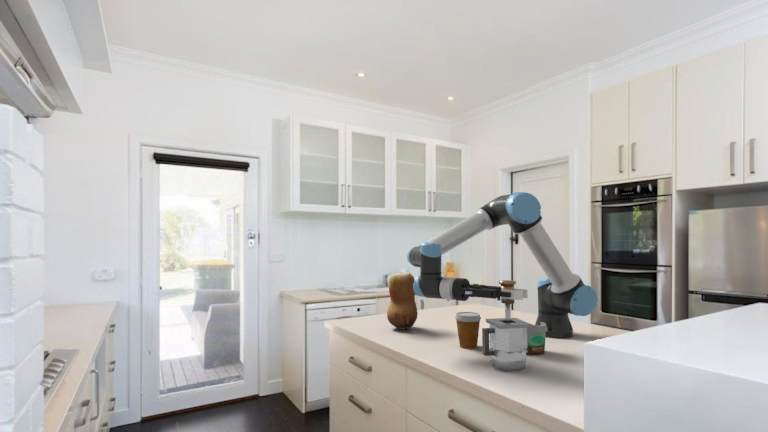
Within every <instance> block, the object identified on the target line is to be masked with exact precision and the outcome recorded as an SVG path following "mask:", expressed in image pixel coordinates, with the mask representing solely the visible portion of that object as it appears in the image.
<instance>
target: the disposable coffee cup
mask: <svg viewBox="0 0 768 432" xmlns="http://www.w3.org/2000/svg"><path fill="white" fill-rule="evenodd" d="M480 315H481V314H480V313H479V312H473V311H460V312H459V311H458V312H456V314H455V316H454V319H455V321H456V327H457V328H456V329H457V336H458V342H459V343H458V344H459V347H460V348H462V349H467V350H468V349H471V350H472V349H477V348H478V341H479V332H480V323H481V319H482V317H481V316H480Z"/></svg>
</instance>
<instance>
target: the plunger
mask: <svg viewBox="0 0 768 432" xmlns="http://www.w3.org/2000/svg"><path fill="white" fill-rule="evenodd" d="M498 284H499V285H500V287H501V289H504V290H514V288H515V285H517V281H516V280H510V279H509V280H508V279H507V280H506V279H504V280H502V279H500V280H498ZM500 303H501V304H504V312H505V313H504V314H505V316H504V318H505V323H511V318H512V317H511V313H512V312H511V305H513V304H515V299H504V298H501V297H500Z"/></svg>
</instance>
